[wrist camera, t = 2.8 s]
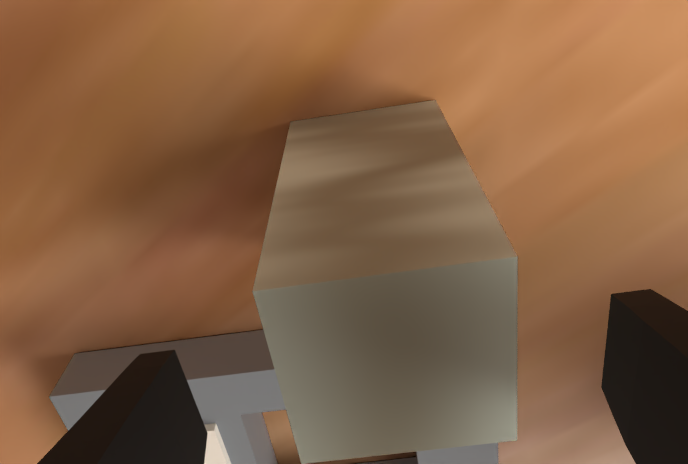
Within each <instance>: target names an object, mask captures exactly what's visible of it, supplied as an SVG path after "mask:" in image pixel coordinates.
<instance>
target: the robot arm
mask: <svg viewBox="0 0 688 464" xmlns="http://www.w3.org/2000/svg"><path fill="white" fill-rule="evenodd" d="M602 389H603V392H604V394H605V397H606V399H607V402H608V404H609V407H610V409H611V412H612V414H613V417H614V419H615V421H616V424H617V426H618V428H619V431H620V433H621V435H622V437H623V440H624V442H625V444H626V446H627V448H628V450H629V452H630V454H631V455H632V457H633V459H634V461H635V463H636V464H688V311H686V310H685V309H683V308H682V307H680V306H678V305H677V304H675V303H673V302H672V301H670V300H668V299H667V298H665V297H663V296H662V295H660V294H658V293H656V292H654V291H653V290H651V289H647V290H640V291H632V292H624V293H616V294H611V301H610V310H609V320H608V330H607V339H606V349H605V358H604V368H603V378H602ZM207 434H208V433H207V430H206V428H205V425H204V423H203V420H202V418H201V415H200V413H199V410H198V407H197V405H196V402H195V400H194V397H193V395H192V392H191V390H190V387H189V385H188V382H187V379H186V377H185V374H184V372H183V369H182V367H181V364H180V362H179V359H178V357H177V354H176V351H175V350H167V351H159V352H151V353H144V354H139V355H138V356H137V357H136V358H135V359H134V360H133V361H132V362H131V363H130V364H129V366H128V367H127V368H126V369H125V370H124V371H123V372H122V373H121V374H120V375H119V376H118V377H117V378H116V379H115V381H114V382H113V383H112V384H111V385H110V386H109V387H108V388H107V389H106V390H105V392H104V393H103V394H102V395H101V396H100V397H99V398H98V399H97V400H96V401H95V402H94V404H93V405H92V406H91V407H90V408H89V409H88V410H87V411H86V412H85V413H84V415H83V416H82V417H81V418H80V419H79V420H78V421H77V422H76V423H75V424H74V425H73V426H72V427H71V428H70V430H69V431H68V432H67V433H66V434H65V435H64V436H63V437H62V438H61V439H60V440H59V441H58V442H57V444H56V445H55V446H54V447H53V448H52V449H51V450H50V451H49V452H48V453H47V454H46V455H45V456H44V457H43V458H42V459H41V460H40V461H39V462H38V463H37V464H204V460H205V452H206V443H207Z"/></svg>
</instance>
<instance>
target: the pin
mask: <svg viewBox="0 0 688 464" xmlns="http://www.w3.org/2000/svg"><path fill="white" fill-rule="evenodd" d="M517 284H518V257H517V255H516V253H515V251H514V249H513V247H512V245H511V243H510V241H509V239H508V237H507V236H506V234H505V232H504V230H503V228H502V226H501V224H500V222H499V220H498V218H497V216H496V214H495V213H494V211H493V209H492V207H491V205H490V203H489V201H488V199H487V197H486V195H485V193H484V192H483V190H482V188H481V186H480V184H479V182H478V180H477V178H476V176H475V174H474V172H473V171H472V169H471V167H470V165H469V163H468V161H467V159H466V157H465V155H464V153H463V151H462V150H461V148H460V146H459V144H458V142H457V140H456V138H455V136H454V134H453V132H452V130H451V129H450V127H449V125H448V123H447V121H446V119H445V117H444V115H443V113H442V111H441V109H440V108H439V106H438V104H437V102H436V100H432V101H425V102H418V103H412V104H405V105H398V106H392V107H385V108H378V109H372V110H365V111H358V112H352V113H345V114H338V115H332V116H325V117H318V118H312V119H305V120H298V121H292V122H290V126H289V131H288V135H287V140H286V144H285V149H284V153H283V158H282V162H281V166H280V171H279V175H278V180H277V184H276V189H275V193H274V198H273V202H272V207H271V211H270V215H269V220H268V224H267V229H266V233H265V238H264V242H263V247H262V251H261V255H260V260H259V264H258V269H257V273H256V278H255V282H254V287H253V295H254V298H255V302H256V306H257V309H258V313H259V316H260V320H261V323H262V327H263V330H264V334H265V337H266V341H267V344H268V348H269V351H270V355H271V359H272V362H273V366H274V369H275V373H276V376H277V380H278V383H279V387H280V390H281V394H282V397H283V401H284V404H285V408H286V411H287V415H288V419H289V422H290V426H291V429H292V433H293V436H294V440H295V443H296V447H297V450H298V454H299V457H300V461H301V464H307V463H316V462H325V461H335V460H344V459H353V458H362V457H371V456H380V455H389V454H398V453H408V452H417V451H426V450H435V449H444V448H453V447H462V446H471V445H480V444H490V443H499V442H508V441H517Z"/></svg>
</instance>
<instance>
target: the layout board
mask: <svg viewBox="0 0 688 464" xmlns="http://www.w3.org/2000/svg"><path fill="white" fill-rule="evenodd" d="M167 350H175V351H176V354H177V357H178V359H179V362H180V364H181V367H182V369H183V372H184V374H185V377H186V379H187V382H188V385H189V387H190V390H191V392H192V395H193V397H194V400H195V402H196V405H197V407H198V410H199V413H200V415H201V418H202V420H203V423H204V425H205V428H206V430H207V433H208V434H207V443H206V452H205V460H204V464H278V463H277V459H276V456H275V453H274V450H273V447H272V443H271V440H270V437H269V434H268V431H267V428H266V424H265V421H264V418H263V415H262V412H269V411H278V410H286V408H285V404H284V401H283V397H282V394H281V390H280V387H279V383H278V380H277V376H276V373H275V369H274V366H273V362H272V359H271V355H270V351H269V348H268V344H267V341H266V337H265V334H264V330H257V331H249V332H241V333H233V334H226V335H218V336H210V337H202V338H194V339H186V340H178V341H170V342H162V343H154V344H146V345H139V346H131V347H123V348H115V349H107V350H99V351H91V352H83V353H75V354H74V356H73V357H72V359H71V361H70V362H69V364H68V366H67V367H66V369H65V371H64V372H63V374H62V376H61V377H60V379H59V381H58V382H57V384H56V386H55V387H54V389H53V391H52V392H51V394H50V396H49V398H50V400H51V401H52V403H53V405H54V407H55V408H56V410H57V412H58V414H59V415H60V417H61V419H62V421H63V422H64V424H65V426H66V428H67V430H68V431H69V430H70V428H71V427H72V426H73V425H74V424H75V423H76V422H77V421H78V420H79V419H80V418H81V417H82V416H83V415H84V413H85V412H86V411H87V410H88V409H89V408H90V407H91V406H92V405H93V404H94V402H95V401H96V400H97V399H98V398H99V397H100V396H101V395H102V394H103V393H104V392H105V390H106V389H107V388H108V387H109V386H110V385H111V384H112V383H113V382H114V381H115V379H116V378H117V377H118V376H119V375H120V374H121V373H122V372H123V371H124V370H125V369H126V368H127V367H128V366H129V364H130V363H131V362H132V361H133V360H134V359H135V358H136V357H137V356H138V355H139V354H144V353H151V352H159V351H167ZM416 456H417V457H413V458H404V459H395V460H385V461H376V462H367V463H358V464H498V443H490V444H480V445H471V446H462V447H453V448H444V449H435V450H426V451H417V452H416Z"/></svg>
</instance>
